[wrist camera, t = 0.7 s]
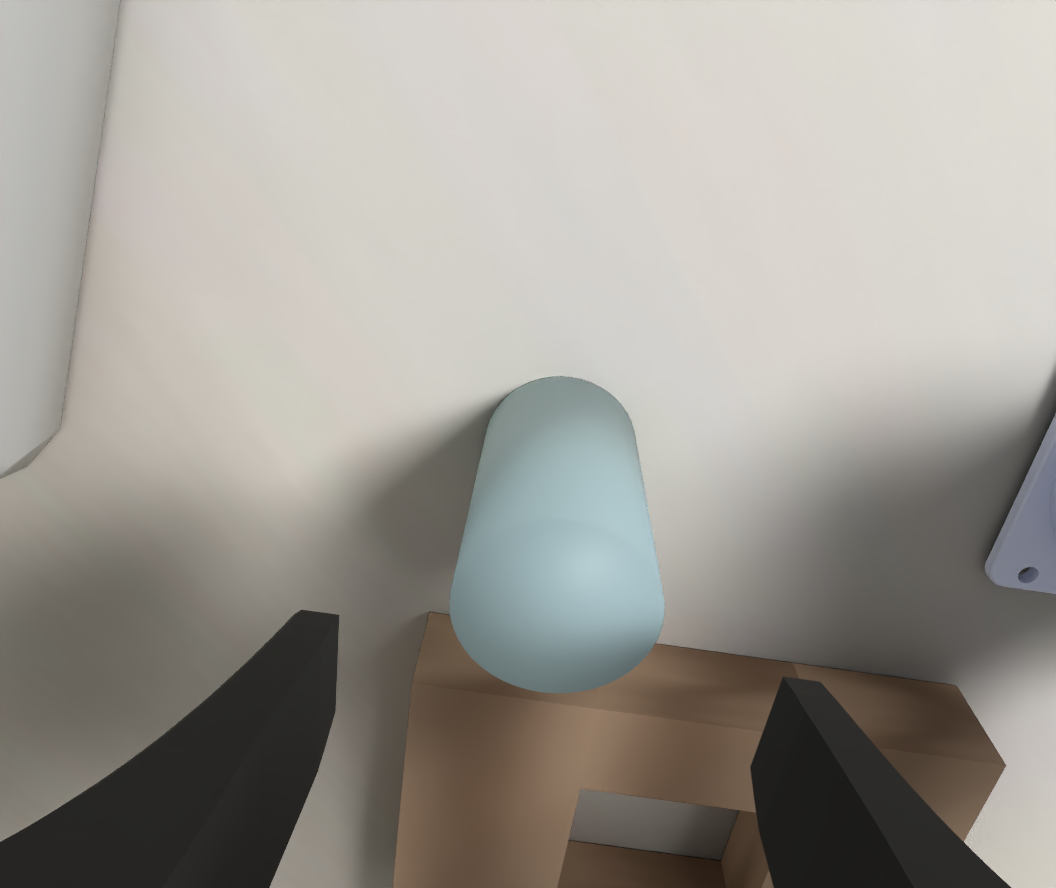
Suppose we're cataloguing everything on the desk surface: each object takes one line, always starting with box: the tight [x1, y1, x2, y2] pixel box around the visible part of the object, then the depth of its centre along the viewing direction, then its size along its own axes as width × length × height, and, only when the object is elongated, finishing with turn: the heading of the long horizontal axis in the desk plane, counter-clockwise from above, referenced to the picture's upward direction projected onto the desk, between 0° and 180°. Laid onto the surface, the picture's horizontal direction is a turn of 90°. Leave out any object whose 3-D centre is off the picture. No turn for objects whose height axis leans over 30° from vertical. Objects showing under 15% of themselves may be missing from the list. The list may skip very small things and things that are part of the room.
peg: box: [449, 376, 665, 693], centre depth 18 cm, size 4×4×7 cm
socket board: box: [392, 612, 1006, 888], centre depth 25 cm, size 16×12×3 cm
